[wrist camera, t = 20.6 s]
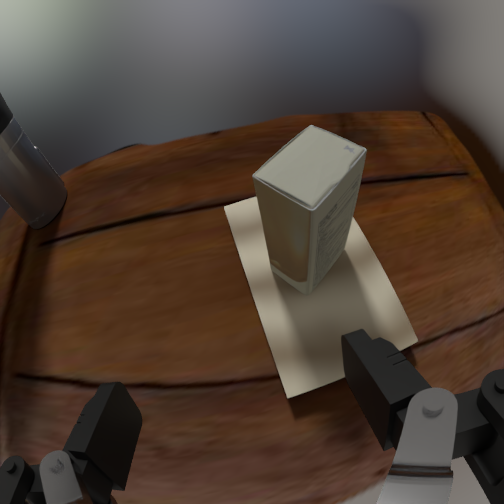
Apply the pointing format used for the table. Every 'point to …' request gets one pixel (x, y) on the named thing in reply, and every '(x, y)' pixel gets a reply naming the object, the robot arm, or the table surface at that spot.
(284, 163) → the skincare box
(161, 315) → the table surface
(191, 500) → the table surface
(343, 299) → the birch board
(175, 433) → the table surface
